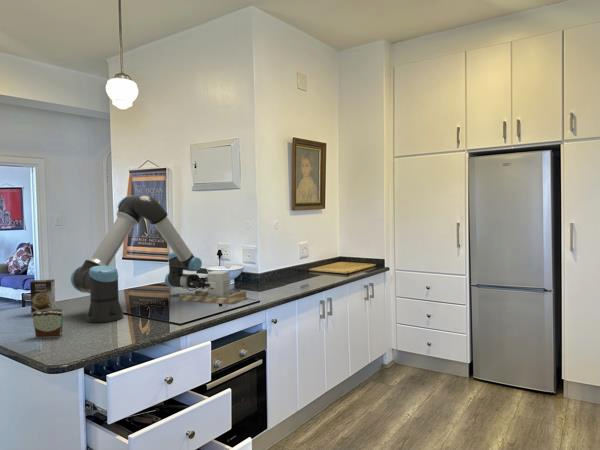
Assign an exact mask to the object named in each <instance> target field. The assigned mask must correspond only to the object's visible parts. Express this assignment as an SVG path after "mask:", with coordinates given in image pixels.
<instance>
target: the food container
mask: <svg viewBox="0 0 600 450" xmlns="http://www.w3.org/2000/svg"><path fill="white" fill-rule="evenodd" d="M30 315H31V316H30V318H32V322H33V327H34V335H35V338H36V339H38V338H40V339H41V338H61V337H62V336H63V322H64V317H65V316H66V314H65V311H64V308H55V309H44V310H39V311H35V312H32V314H30Z"/></svg>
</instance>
